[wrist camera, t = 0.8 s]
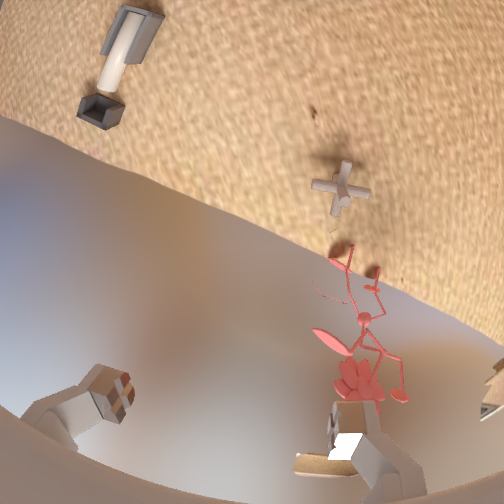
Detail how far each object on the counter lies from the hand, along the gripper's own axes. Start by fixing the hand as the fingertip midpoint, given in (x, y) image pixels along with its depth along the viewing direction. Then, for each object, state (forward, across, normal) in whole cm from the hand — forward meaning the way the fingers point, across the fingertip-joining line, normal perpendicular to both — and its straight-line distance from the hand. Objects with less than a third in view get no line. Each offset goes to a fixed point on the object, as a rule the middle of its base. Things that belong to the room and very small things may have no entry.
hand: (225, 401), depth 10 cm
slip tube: (+38, +27, -28) cm, 55 cm away
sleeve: (+39, +26, -31) cm, 56 cm away
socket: (+42, +34, -18) cm, 57 cm away
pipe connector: (+47, -10, -4) cm, 48 cm away
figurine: (+54, -14, +18) cm, 58 cm away
